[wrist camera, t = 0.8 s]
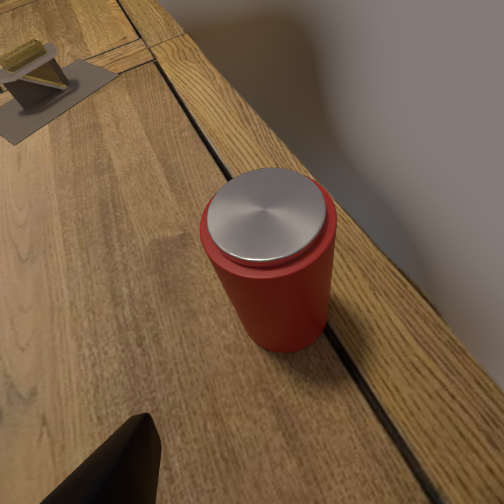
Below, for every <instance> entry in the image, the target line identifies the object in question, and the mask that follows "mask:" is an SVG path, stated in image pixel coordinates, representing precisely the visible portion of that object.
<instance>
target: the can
mask: <svg viewBox="0 0 504 504" xmlns="http://www.w3.org/2000/svg"><path fill="white" fill-rule="evenodd" d="M336 227H337V213H336V209H335V205H334V203H333V201H332V199H331V197H330V196H329V194H328V193H327V191H326V190H325V189H324V188H323V187H322V186H321V185H320V184H318V183H317V182H316V181H314V180H312V179H311V178H309V177H307V176H305V175H302V174H300V173H298V172H295V171H292V170H288V169H283V168H262V169H256V170H252V171H249V172H246V173H243V174H241V175H239V176H237V177H235V178H233V179H232V180H230V181H229V182H227V183H226V184H225V185H224V186H223V187H222V188H220V190H219V191H218V192H217V193H216V194H215V195H214V196H213V197H212V198H211V200H210V201H209V203H208V204H207V206H206V208H205V210H204V212H203V215H202V218H201V223H200V238H201V242H202V245H203V248H204V250H205V252H206V254H207V256H208V258H209V260H210V262H211V263H212V265H213V267H214V269H215V271H216V273H217V275H218V277H219V279H220V281H221V283H222V285H223V287H224V289H225V291H226V293H227V295H228V296H229V298H230V300H231V302H232V304H233V306H234V308H235V310H236V312H237V314H238V316H239V318H240V320H241V322H242V324H243V326H244V327H245V329H246V331H247V333H248V334H249V336H250V337H251V338H252V339H253V341H255V342H256V343H257V344H258V345H260V346H261V347H263V348H265V349H267V350H270V351H273V352H279V353H289V352H295V351H299V350H301V349H304V348H306V347H307V346H309V345H311V344H312V343H313V342H314V341H315V340H316V339H317V338H318V337H319V336H320V335H321V333H322V331H323V330H324V328H325V325H326V322H327V318H328V308H329V298H330V288H331V278H332V268H333V257H334V247H335V237H336Z"/></svg>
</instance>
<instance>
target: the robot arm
mask: <svg viewBox="0 0 504 504" xmlns="http://www.w3.org/2000/svg"><path fill="white" fill-rule="evenodd" d="M161 450H162V446H161V440H160V437H159V434H158V432H157V429H156V427H155V424H154V421H153V419H152V417H151V415H150V414H149V413H142V414H138V415H134V416H131V417H130V418H129V419H128V420H127V421H126V422H125V423H124V424H123V425H121V426H120V427H119V428H118V429H117V430H116V431H115V432H114V433H113V434H112V435H111V436H110V437H109V438H108V439H107V440H106V441H105V442H104V443H103V444H102V445H100V446H99V447H98V448H97V449H96V450H95V451H94V452H93V453H92V454H91V455H90V456H89V457H88V458H87V459H86V460H85V461H84V462H83V463H82V464H81V465H80V466H78V467H77V468H76V469H75V470H74V471H73V472H72V473H71V474H70V475H69V476H68V477H67V478H66V479H65V480H64V481H63V482H62V483H61V484H60V485H59V486H57V487H56V488H55V489H54V490H53V491H52V492H51V493H50V494H49V495H48V496H47V497H46V498H45V499H44V500H43V501H42V502H41V503H40V504H155V503H156V494H157V486H158V477H159V468H160V459H161Z"/></svg>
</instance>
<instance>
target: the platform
mask: <svg viewBox="0 0 504 504" xmlns="http://www.w3.org/2000/svg"><path fill="white" fill-rule="evenodd" d="M33 40H34V41H36V42H34V41H33ZM30 41H31V42H32V41H33V42H34V43H33V42H32V43H33V44H32V43H31V42H30V43H31V44H32V45H31V44H30V43H29V44H30V45H29V44H28V45H29V46H28V45H27V46H28V47H27V46H26V47H27V48H26V47H25V48H24V49H23V50H21V49H22V48H23V47H24V46H25V45H26V44H27V43H28V42H29V41H28V42H26V43H24V44H25V45H24V44H22V45H21V47H22V46H23V45H24V46H23V47H22V48H21V47H20V46H19V47H20V48H21V49H20V48H19V47H17V48H15V49H16V50H17V49H18V48H19V49H20V50H21V51H20V50H19V49H18V50H19V51H18V50H17V51H18V53H16V52H17V51H16V50H15V49H13V50H15V51H16V52H15V51H14V52H15V53H16V54H15V53H14V52H13V50H12V52H13V53H14V54H13V53H12V52H11V51H10V52H11V53H12V54H13V55H12V54H11V53H10V52H8V53H10V54H11V55H12V56H14V55H15V56H14V57H12V56H11V55H10V54H9V55H10V56H11V57H12V58H11V57H10V56H9V55H8V53H6V54H7V55H8V56H9V57H8V56H7V55H6V54H4V55H6V56H7V57H8V58H7V57H6V56H5V57H6V58H7V59H9V58H10V59H9V60H7V59H6V58H5V57H4V55H3V56H1V57H2V58H3V57H4V58H5V59H4V58H3V59H4V60H3V59H2V58H1V57H0V58H1V59H0V60H1V61H5V60H7V61H5V62H4V63H3V64H4V65H5V66H6V67H4V65H3V64H2V63H1V61H0V64H1V65H2V66H3V67H4V68H3V69H1V70H0V84H1V83H3V85H4V86H5V87H6V88H7V89H8V91H9V92H10V93H11V94H12V95H13V97H14V99H12V100H11V101H9V102H7V103H6V104H4V105H2V106H1V107H0V135H1V136H2V137H4V138H5V139H6V140H8V141H9V142H10V143H12V144H13V145H16V144H17V143H19V142H20V141H21V140H23V139H24V138H26V137H27V136H29V135H30V134H32V133H33V132H35V131H36V130H38V129H39V128H41V127H42V126H44V125H45V124H47V123H48V122H50V121H51V120H53V119H54V118H56V117H57V116H59V115H60V114H62V113H63V112H65V111H66V110H68V109H69V108H71V107H72V106H74V105H75V104H77V103H78V102H80V101H81V100H83V99H84V98H86V97H87V96H89V95H90V94H92V93H93V92H95V91H96V90H98V89H99V88H101V87H102V86H104V85H105V84H107V83H108V82H110V81H111V80H113V79H114V78H116V77H117V76H119V74H116V73H114V72H111V71H108V70H106V69H103V68H101V67H98V66H96V65H93V64H91V63H88V62H86V61H83V60H80V59H77V60H76V61H74V62H72V63H71V64H69V65H68V66H66V67H64V68H63V69H61V68H60V67H59V65H58V63H57V62H56V60H55V59H54V57H56V56H57V49H56V47H55V45H54V44H53V43H47V44H45V45H42V43H41V42H40V40H38V39H35V38H33V39H31V40H30ZM37 44H38V45H37ZM39 47H40V48H39ZM33 49H34V50H33ZM32 50H33V51H32ZM25 51H26V52H25ZM31 51H32V52H31ZM24 52H25V53H24ZM30 52H31V53H30ZM23 53H24V54H23ZM22 54H23V55H22ZM21 55H22V56H21ZM20 56H21V57H20ZM19 57H20V58H19ZM18 58H19V59H18ZM16 59H18V60H16ZM14 60H16V61H15V62H13V61H14ZM11 63H12V64H11ZM8 64H10V65H8ZM7 65H8V66H7Z"/></svg>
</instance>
